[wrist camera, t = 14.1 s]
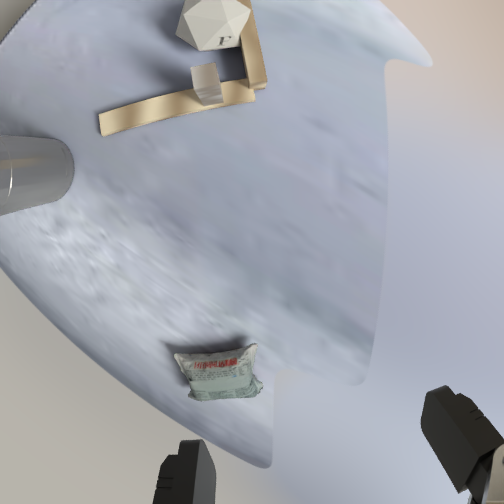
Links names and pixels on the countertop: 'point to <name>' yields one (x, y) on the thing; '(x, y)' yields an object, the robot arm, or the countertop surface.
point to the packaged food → (221, 374)
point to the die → (212, 23)
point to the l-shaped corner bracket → (197, 89)
